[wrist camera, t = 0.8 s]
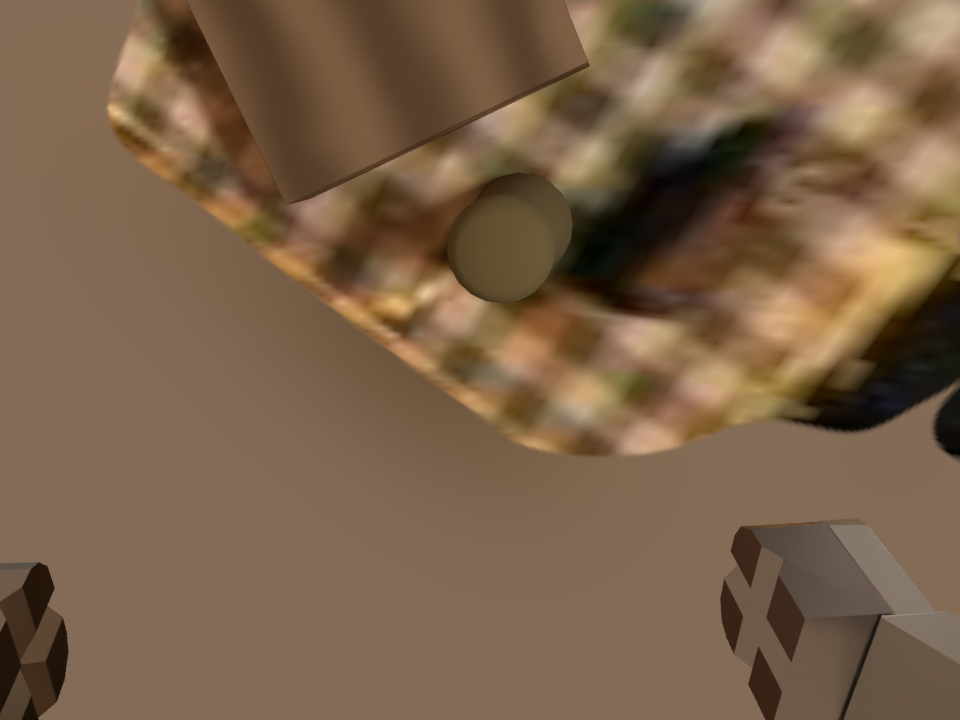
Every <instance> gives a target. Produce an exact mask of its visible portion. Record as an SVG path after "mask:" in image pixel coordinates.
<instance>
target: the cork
mask: <svg viewBox="0 0 960 720" xmlns="http://www.w3.org/2000/svg"><path fill="white" fill-rule="evenodd" d="M572 225H573V223H572V218H571V212H570V207H569V206H568V204H567V202H566V200H565V198H564V196H563V195H562V193H561V192H560V191H559V190H558V189H557V188H556V187H555V186H554V185H553V184H552V183H550V182H549V181H547V180H545V179H543V178H540V177H538V176H536V175H531V174H523V173H516V174H511V175H507V176H502V177H501V178H499V179H497V180H495V181H494V182H492V183H490V184H489V185H488V186H487V187H486V188H485V189H484V190H483V191H482V192H481V194H480V195H479V196H478V197H477V200H476V201H475V202H474V203H472V204H470V205H469V206H467V207H466V208H465V209H464V210H463V211H462V212H461V213H460V215H459V216H458V217H457V218H456V219H455V221H454V223H453V226H452V228H451V230H450V233H449V235H448V246H447V254H448V258H449V263H450V268H451V270H452V272H453V273H454V275H455V277H456V278H457V280H458V282H459V283H460V284H461V285H462V286H463V287H464V288H465V289H466V290H467V291H468V292H469V293H470V294H472V295H474V296H476V297H478V298H481V299H483V300H485V301H490V302H497V303H507V302H513V301H518V300H521V299H523V298H525V297H526V296H528V295H530V294H532V293H534V292H535V291H536V290H537V289H538V288H539V287H540V286H541V285H542V283H543V282H544V281H545V280H546V278H547V276H548V274H549V272H550V270H551V268H552V266H553V265H554V264H555V263H556V262H557V261H558V260H559V259H560V258H561V257H562V256H563V255H564V253H565V251H566V248H567V246H568V244H569V242H570V240H571V232H572Z"/></svg>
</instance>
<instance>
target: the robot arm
mask: <svg viewBox="0 0 960 720" xmlns="http://www.w3.org/2000/svg"><path fill="white" fill-rule="evenodd" d="M731 553H732V555H733V557H734V558H735V560H736V562H737V564H738V566H737V567H736V568H735V569H733V570H732V571H731V572H730V573H729V574H728V575H727V576H726V577H725V578H724V582H723V587H722V593H721V598H720V601H721V617H722V623H723V627H724V631H725V634H726V638H727V640H728V642H729V644H730V647H731V649H732V651H733V653H734V655H736V656H737V657H739V658H740V659H741V660H742V661H744V662H745V663H747V664H748V665H749V666H751V667H752V672H751V676H750V680H749V683H748V685H749V687H750V689H751V691H752V693H753V695H754V697H755V699H756V701H757V703H758V706H759V708H760V710H761V712H762V714H763V716H764V718H765V720H960V618H959V617H957V616H955V615H953V614H951V613H950V612H936V611H935V610H934V609H933V607H932V606H931V605H930V604H929V602H928V601H927V600H926V599H925V597H924V596H923V595H922V593H921V592H920V591H919V590H918V588H916V586H915V585H914V583H913V582H912V581H911V580H910V578H909V577H908V576H907V574H906V573H905V572H904V571H903V569H902V568H901V567H900V566H899V564H898V563H897V562H896V561H895V559H894V558H893V557H892V555H891V554H890V553H889V551H888V550H887V549H886V548H885V546H884V545H883V544H882V543H881V541H880V540H879V539H878V538H877V536H876V535H875V534H874V532H873V531H872V530H871V529H870V527H869V526H868V525H867V524H866V523H864V522H863V521H860V520H859V519H857V518H855V519H841V520H827V521H818V522H806V523H790V524H771V525H754V526H741V527H740V528H739V530H738V531H737V533H736V534H735V536H734V540H733V544H732V548H731ZM54 589H55V587H54V584H53V581H52V578H51V575H50V572H49V569H48V566H46V565H44V564H42V563H40V562H33V563H32V562H30V563H0V720H39V719H38V718H39V717H40V716H41V715H42V714H43V713H45V712H46V711H47V710H48V709H49V708H50V707H51V706H53V705H54V704H55V703H56V702H57V700H58V697H59V694H60V692H61V689H62V686H63V683H64V680H65V674H66V666H67V659H68V639H67V631H66V627H65V623H64V619H63V617H62V616H60V615H59V614H58V613H57V612H55V611H54V610H53V609H51V608H50V607H49V606H48V603H49V601H50V598H51V596H52V594H53V591H54Z"/></svg>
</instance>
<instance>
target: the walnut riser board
mask: <svg viewBox="0 0 960 720" xmlns="http://www.w3.org/2000/svg"><path fill="white" fill-rule="evenodd" d="M187 2H188V4H189V6H190V8H191V10H192V12H193V14H194V16H195V19H196V21H197V23H198V25H199V27H200V29H201V31H202V33H203V35H204V37H205V39H206V41H207V43H208V45H209V47H210V49H211V52H212V54H213V56H214V58H215V60H216V62H217V64H218V66H219V68H220V70H221V72H222V74H223V76H224V78H225V80H226V82H227V84H228V87H229V89H230V91H231V93H232V95H233V97H234V99H235V101H236V103H237V105H238V107H239V109H240V111H241V113H242V115H243V117H244V119H245V122H246V124H247V126H248V128H249V130H250V132H251V134H252V136H253V138H254V140H255V142H256V144H257V146H258V148H259V150H260V152H261V154H262V157H263V159H264V161H265V163H266V165H267V167H268V169H269V171H270V173H271V175H272V177H273V179H274V181H275V183H276V185H277V187H278V189H279V192H280V194H281V196H282V198H283V200H284V202H285V204H286V205H289V204H293V203H296V202H300V201H304V200H307V199H311V198H313V197H315V196H317V195H319V194H321V193H323V192H325V191H328V190H330V189H332V188H334V187H336V186H338V185H340V184H342V183H344V182H347V181H349V180H351V179H353V178H355V177H357V176H359V175H361V174H363V173H366V172H368V171H370V170H372V169H374V168H376V167H378V166H380V165H382V164H385V163H387V162H389V161H391V160H393V159H395V158H397V157H399V156H401V155H403V154H406V153H408V152H410V151H412V150H414V149H416V148H418V147H420V146H422V145H425V144H427V143H429V142H431V141H433V140H435V139H437V138H439V137H441V136H444V135H446V134H448V133H450V132H452V131H454V130H456V129H458V128H460V127H463V126H465V125H467V124H469V123H471V122H473V121H475V120H477V119H479V118H481V117H484V116H486V115H488V114H490V113H492V112H494V111H496V110H498V109H500V108H503V107H505V106H507V105H509V104H511V103H513V102H515V101H517V100H519V99H522V98H524V97H526V96H528V95H530V94H532V93H534V92H536V91H538V90H540V89H543V88H545V87H547V86H549V85H551V84H553V83H555V82H557V81H559V80H562V79H564V78H566V77H568V76H570V75H572V74H574V73H576V72H578V71H581V70H583V69H585V68H587V67H589V66H590V65H589V63H588V60H587V58H586V55H585V53H584V50H583V48H582V45H581V43H580V40H579V38H578V35H577V33H576V30H575V28H574V25H573V23H572V20H571V18H570V15H569V13H568V10H567V8H566V5H565V3H564V0H187Z"/></svg>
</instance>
